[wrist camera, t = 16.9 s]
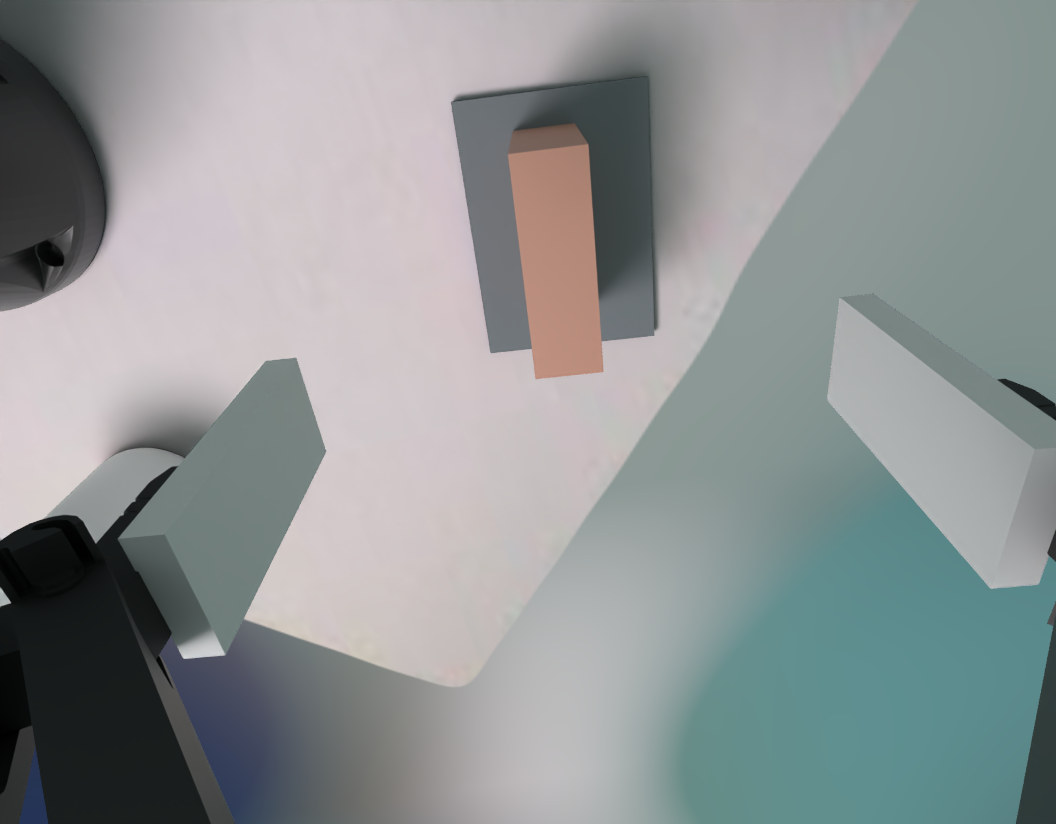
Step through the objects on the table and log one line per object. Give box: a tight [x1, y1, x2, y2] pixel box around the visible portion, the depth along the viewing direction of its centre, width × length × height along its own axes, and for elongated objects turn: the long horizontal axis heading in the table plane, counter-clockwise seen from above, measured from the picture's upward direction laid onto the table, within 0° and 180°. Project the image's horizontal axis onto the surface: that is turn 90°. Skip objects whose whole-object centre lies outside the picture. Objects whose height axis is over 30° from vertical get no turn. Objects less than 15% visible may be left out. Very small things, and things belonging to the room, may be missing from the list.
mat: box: [451, 76, 654, 353], centre depth 36 cm, size 10×14×1 cm
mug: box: [0, 448, 185, 606], centre depth 41 cm, size 9×12×11 cm
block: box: [508, 123, 603, 379], centre depth 32 cm, size 3×9×10 cm
